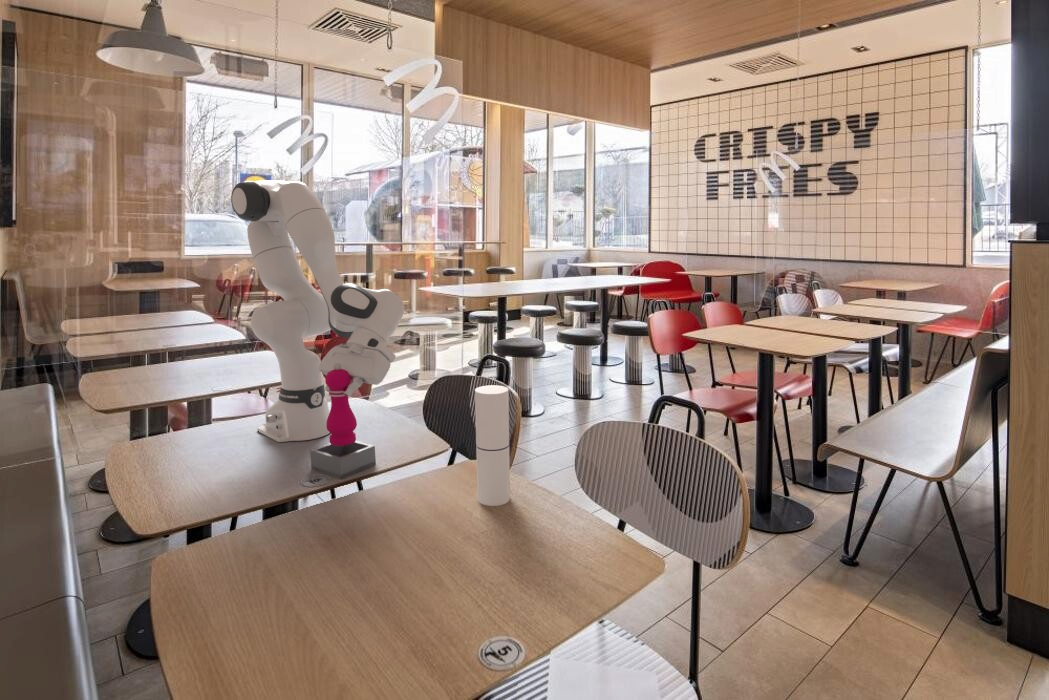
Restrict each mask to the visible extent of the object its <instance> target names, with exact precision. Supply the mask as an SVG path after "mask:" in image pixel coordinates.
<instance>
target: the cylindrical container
mask: <svg viewBox="0 0 1049 700" xmlns="http://www.w3.org/2000/svg"><path fill="white" fill-rule="evenodd" d="M509 395H510V393H509V388H508V387H506V386H503V385H492V384H489V385H482V386H478V387H476V388H474V404H475V405H474V406H475V409H474V410H475V411H474V412H475V443H476V444H475V447H476V450H475V451H476V453H475V454H476V479H477V480H476V481H477V482H476V487H477V488H476V489H477V501H478V503H479V504H481V505H483V506H489V507H498V506H503V505H505V504H507V503H509V502H510V500H511V485H510V484H511V482H510V481H511V480H510V476H511V475H510V468H511V467H510V414H509V413H510V407H509V405H510V403H509V401H510V399H509Z"/></svg>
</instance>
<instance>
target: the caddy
mask: <svg viewBox="0 0 1049 700" xmlns="http://www.w3.org/2000/svg"><path fill="white" fill-rule="evenodd" d="M309 455H310V456H309V457H310V466H311V468H310V469H311V470H312V471H315V472H318V473H321V474H324V475H326V476H331V477H334V478H337V479H339V480H343V479H345V478H347V477H351V476H353V475H354V474H357V473H359V472H361V471H364V470H366V469H369V468H371V467H373V466H375V465H376V464H377V461H376V446H375V445H373V444H370V443H367V442H363V441H359V440H356V441H355V442H354V443H352V444H349V445H343V446H335V445H332V444H330V442H329V443H326V444H324V445H322V446H318V447H316V448H312V449H311V450H309Z"/></svg>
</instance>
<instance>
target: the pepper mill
mask: <svg viewBox="0 0 1049 700" xmlns="http://www.w3.org/2000/svg"><path fill="white" fill-rule="evenodd" d="M333 367H334V370H331V371H330V372H328V373H327V375H325V385H326V386H328V387H329V388H330V389H329V390H328V391H329V392H328V396H329V397H330V403H331V404H330V410H329V416H328V418H327V425H326V427H327V430H328V431H329V432H330V433H329V436H328V437H329V439H328V440H329V443H330V444H332V445H335V446H343V445H349V444H352V443H354V442H355V441H357V435H356V432H355V429H356V428H357V427H358V426H357V425H358V423H357V418H356V416H355V414H354V412H353V410H352V409H351V406H350V405H351V404H350V401H349V396H346V395H345V394H343V390H344V388H345V387H348V386H349V385H350V384H351V383H352V380H351V376H350V375H349V373H348V372H347V371H346V370H344V369H340V368H341V365H340V364H339V363H335V364H334V366H333Z"/></svg>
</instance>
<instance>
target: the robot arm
mask: <svg viewBox="0 0 1049 700" xmlns="http://www.w3.org/2000/svg"><path fill="white" fill-rule="evenodd" d="M230 197H231V198H230V202H231V207H232V209H233V211H234V212H235V213H234V214H236V215H237V217H239V219H241V220H244V221H246V222H249V223H248V226H247V229H246V230H247V232H246V234H247V238H248V244H249V249H250V252H251V257H252V258H253V262H254V264H255V267H256V270H257V274H258V276H259V279H260V281H261V284H262V285H263V287H265V289H267V290H269V291H270V292H273V293H276V294H277V295H279V296H280V297H281V298H282V299H283V300H279V301H278V300H277V301H271V302H269V303H266V304H263V305H261V306H258V307H256V308H255V309H254V310H253V313H252V314H251V320H250V327H251V329H252V330H251V331H252V332H253V333H254V335H255V337H256V338H258V339H259V340H260V341H261V342H264V343H265V344H266V345H268V346H269V348H270V349H271V350H272V351H273V353H274V355H275V357H276V359H277V362H278V367H279V368H278V369H279V374H280V382H281V386H279V387H277V388H276V393H278V392H279V394H278V399H277V401H275V402H274V403H273V404H272V405H271V406H269V408H267V410H266V411H265V423H263V424H261V425H260V426H258V427H257V432H258V431H259V433H261V434H262V435H265V437H268V438H269V439H271V440H273V441H275V442H277V443H284V442H293V441H295V442H298V441H299V442H300V441H301V442H302V441H309V440H315V439H319V438H321V437H325V436H327V435H330V434H331V433H330V432H329V431H328V430H327V427H326V425H327V418H328V416H329V413H330V410H329V405H328V400H327V399H326V398H325V396H326V393H329V391H328V390H329V389H330V388H329V387H328V386H327V385H326V386H325V384H324V383H323V375H324V376H326V375H327V373H328V372H330V371H331V370H334V367H333V366H334V364H335V363H339V364H340V365H341V368H340V369H344V370H346V371H347V372H348V373H349V375H350V376H351V383H350V384H349V386H348V387H345V388H344V390H343V394H345V395H346V396H348V397H352V396H353V394H354V392H355V391H357V390H358V389H359V388H360V387H362V385H363V384H364V383H365V384H368V385H369V384H370V385H374V386H378V385H380V384H381V383H382V382H383V381H384V379H385V377H386V376H387V374H388V372H389V370H390V368H391V363H393V362H394V361H395V359H396V355H395V353H393V351H392V350H391V349H390V348H389V347H388V346H387V345H388V342H389V340H390V337H391V336H392V335H393V334H394V333H395V332H396V330H397V328H398V327H399V325H400V322H401V321H402V319H403V316H404V313H405V305H404V304H405V303H404V302H403V300H402V298H401V297H400V296H399V295H398V294H397V293H395V292H394V291H393V290H390V289H387V288H383V289H371V288H366V287H362V286H360V285H359V284H355V283H352V282H351V283H350V282H348V283H344V281H343V279H342V278H341V275H340V272H339V270H338V266H337V262H336V261H337V260H336V239H335V238H336V237H335V231H334V228H333V225H332V221H331V220H330V218H329V215H328V213H327V212H326V210H325V208H324V206H323V205H322V203H321V201H320V200H319V199H318V197H317V195H316V194H315V192H313V190H312V189H311V188H310V187H309V186H308V185H307V184H305V183H304V182H302V181H287V180H279V179H278V180H277V179H271V180H255V181H253V180H246V181H241V182H238V183H236V184H235V186H234V187H233V189H232V191H231V194H230ZM290 238H291V239H290ZM291 240H292V241H291ZM292 242H293V244H294V245H295V246H296V248H297V249H298V251H299V253H300V254H301V256H302V258H303V259H304V261H305V263H306V265H307V266H308V267H309V269H310V271H311V273H312V275H313V277H314V279H315V282H316V283H317V286H318V288H319V290H320V292H319V291H318V289H316V288H315V287H314V286H313V284H311V282H310V281H309V280H308V278H307V277H306V275H305V274H304V272H303V270H302V267H301V265H300V262H299V260H298V258H297V254H296V252H295V249H294V246H293V245H292ZM330 331H332V332H333V333H334V334H335V335H337V336H339V337H341V338H344V339H345V338H346V339H347V338H348V340H347V341H346V343H339V344H337V345H335V346H333V347H331V349H329V351H328V352H327V353H326V354H325V356H324V357H323V358H322V359H321V358H320V356H319V355H318V354H317V353H315V352H313V351H311V350H308V349H307V348H306V346H305V343H304V338H308V337H313V336H317V335H318V336H319V335H324V334H325V333H327V332H330Z"/></svg>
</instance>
